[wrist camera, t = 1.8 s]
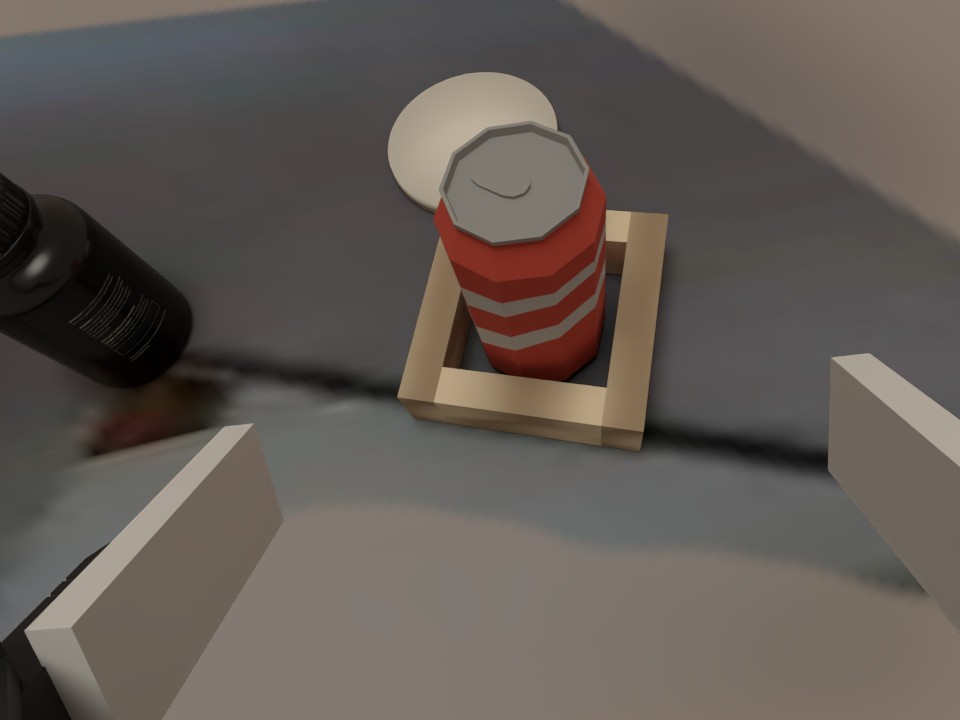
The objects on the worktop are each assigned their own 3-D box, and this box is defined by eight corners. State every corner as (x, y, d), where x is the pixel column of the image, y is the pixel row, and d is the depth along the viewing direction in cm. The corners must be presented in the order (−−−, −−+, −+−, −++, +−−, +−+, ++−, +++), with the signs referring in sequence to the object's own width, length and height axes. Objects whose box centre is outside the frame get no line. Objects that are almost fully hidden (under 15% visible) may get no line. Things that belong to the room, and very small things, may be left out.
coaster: (374, 212, 38) (368, 201, 37) (414, 83, 42) (410, 71, 41) (542, 224, 36) (541, 213, 35) (570, 86, 40) (569, 73, 39)
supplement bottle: (176, 264, 39) (14, 117, 29) (208, 351, 36) (41, 225, 26) (72, 319, 39) (-131, 192, 28) (96, 412, 36) (-121, 310, 25)
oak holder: (414, 418, 33) (397, 397, 30) (460, 233, 37) (449, 200, 34) (639, 451, 30) (643, 431, 27) (663, 248, 34) (668, 214, 31)
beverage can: (520, 261, 35) (485, 89, 24) (627, 312, 33) (639, 147, 22) (457, 350, 34) (390, 209, 23) (564, 410, 32) (545, 285, 21)
